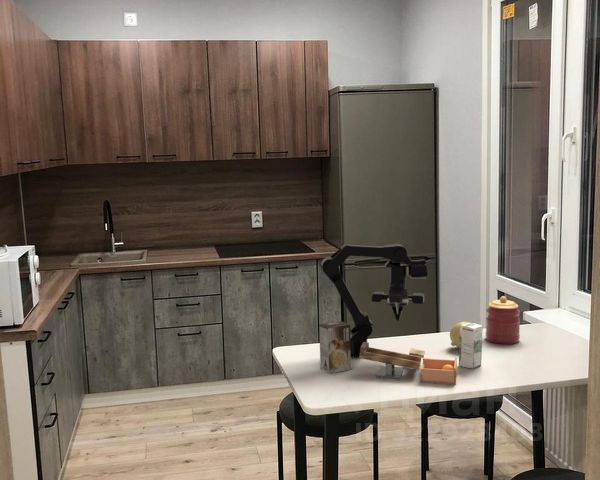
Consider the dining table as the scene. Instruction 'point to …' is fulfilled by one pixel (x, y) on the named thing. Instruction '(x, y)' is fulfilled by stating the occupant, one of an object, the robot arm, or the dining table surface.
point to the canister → (502, 322)
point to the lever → (392, 356)
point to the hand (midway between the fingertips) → (397, 320)
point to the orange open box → (438, 371)
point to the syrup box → (470, 345)
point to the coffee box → (335, 347)
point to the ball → (447, 367)
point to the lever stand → (390, 372)
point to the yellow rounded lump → (456, 334)
